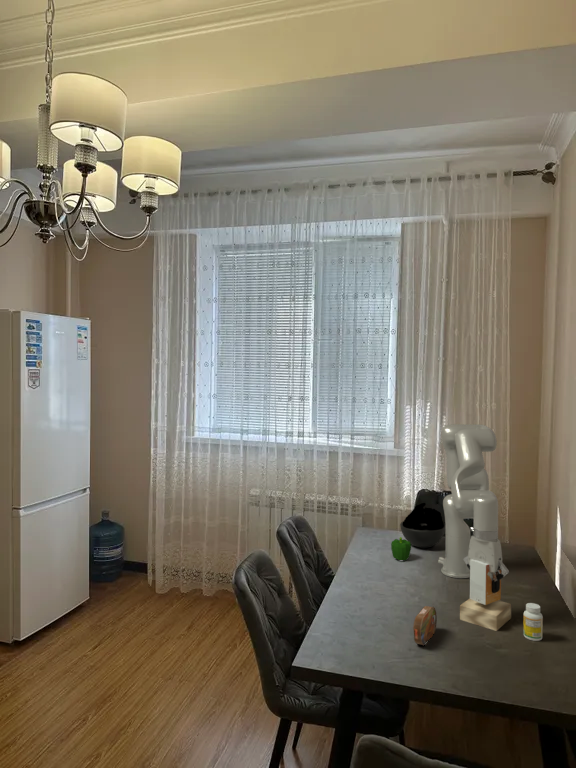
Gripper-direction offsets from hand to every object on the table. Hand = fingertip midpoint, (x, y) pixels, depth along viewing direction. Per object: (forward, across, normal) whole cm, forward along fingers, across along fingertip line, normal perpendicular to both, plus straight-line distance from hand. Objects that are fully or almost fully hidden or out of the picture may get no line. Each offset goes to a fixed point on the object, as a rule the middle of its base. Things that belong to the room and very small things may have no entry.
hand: (485, 588), depth 181 cm
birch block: (+10, 0, 0) cm, 10 cm away
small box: (+4, 0, 0) cm, 4 cm away
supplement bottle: (+10, +16, 0) cm, 19 cm away
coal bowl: (+11, -60, +44) cm, 75 cm away
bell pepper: (+11, -55, +23) cm, 60 cm away
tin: (+10, -4, -26) cm, 28 cm away
